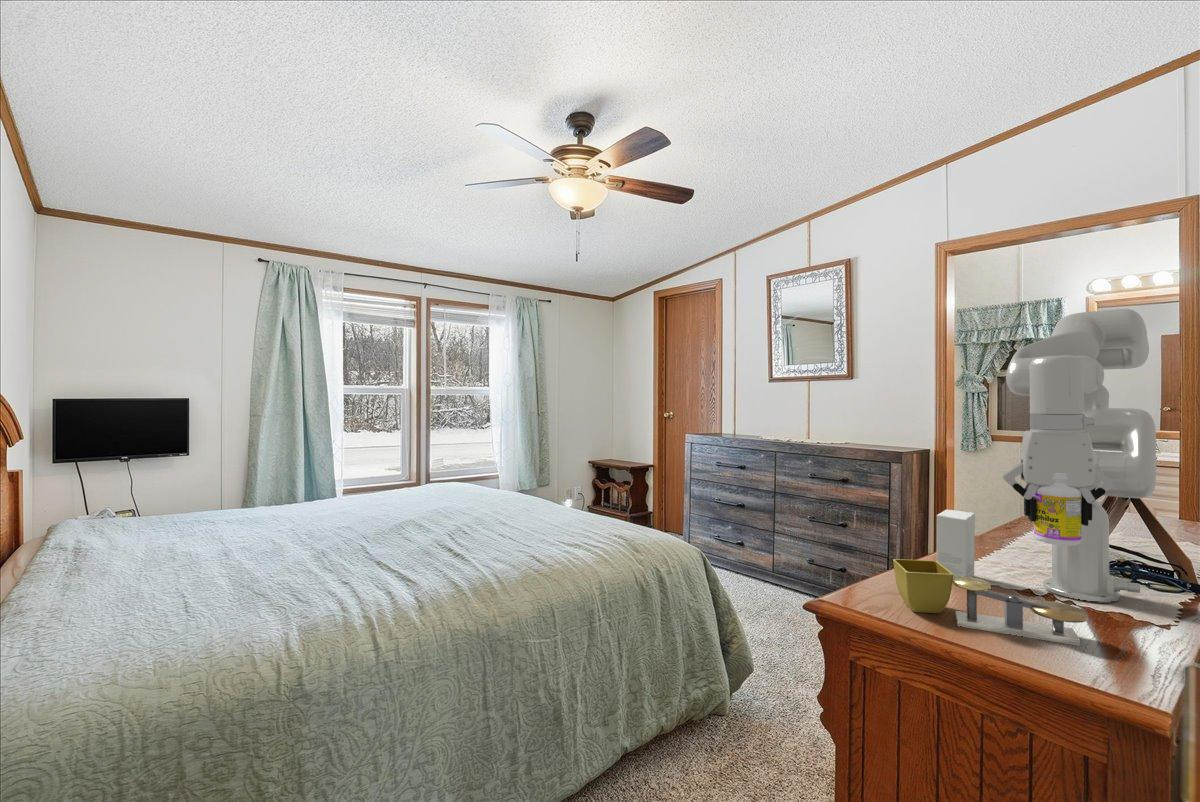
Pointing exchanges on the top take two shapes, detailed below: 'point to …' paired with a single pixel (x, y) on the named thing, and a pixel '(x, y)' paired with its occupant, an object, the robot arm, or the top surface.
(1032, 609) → the balance
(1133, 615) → the top surface
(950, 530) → the skincare box
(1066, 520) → the supplement bottle
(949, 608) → the top surface
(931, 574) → the flower pot
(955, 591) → the top surface
